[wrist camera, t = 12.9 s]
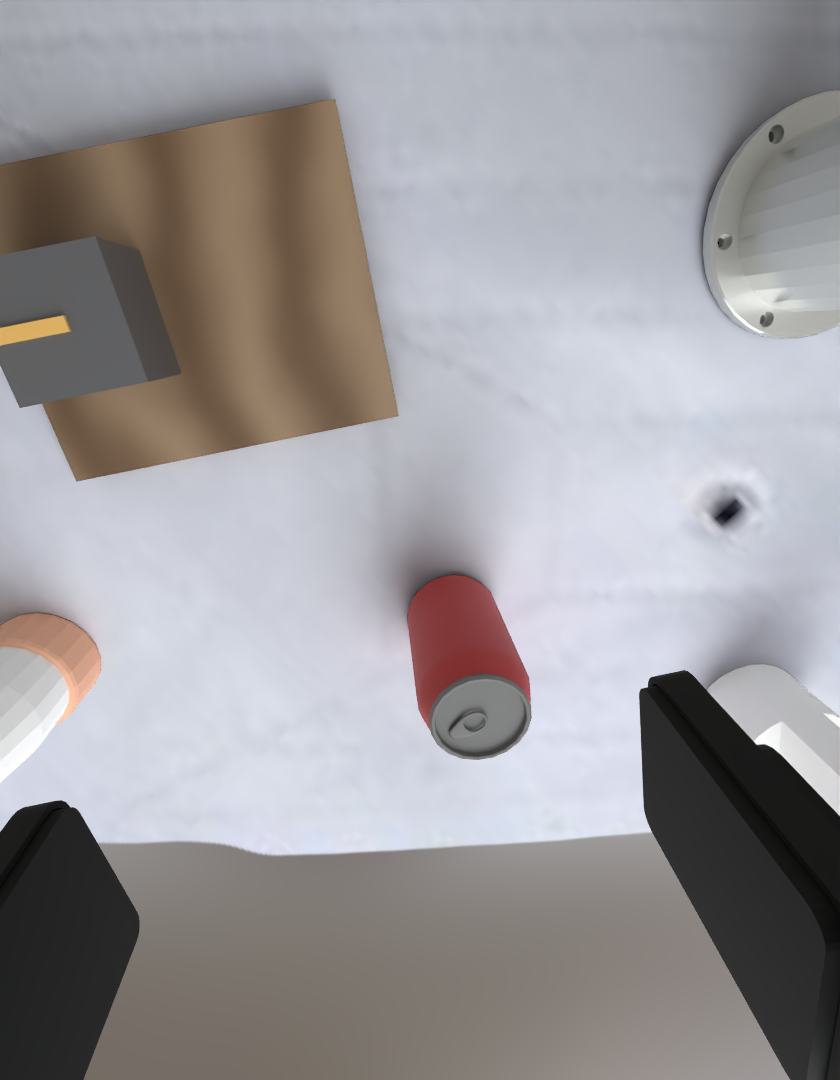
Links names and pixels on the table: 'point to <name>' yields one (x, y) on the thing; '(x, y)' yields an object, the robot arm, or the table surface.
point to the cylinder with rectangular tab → (785, 723)
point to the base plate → (219, 284)
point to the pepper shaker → (40, 681)
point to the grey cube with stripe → (79, 321)
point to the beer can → (467, 669)
